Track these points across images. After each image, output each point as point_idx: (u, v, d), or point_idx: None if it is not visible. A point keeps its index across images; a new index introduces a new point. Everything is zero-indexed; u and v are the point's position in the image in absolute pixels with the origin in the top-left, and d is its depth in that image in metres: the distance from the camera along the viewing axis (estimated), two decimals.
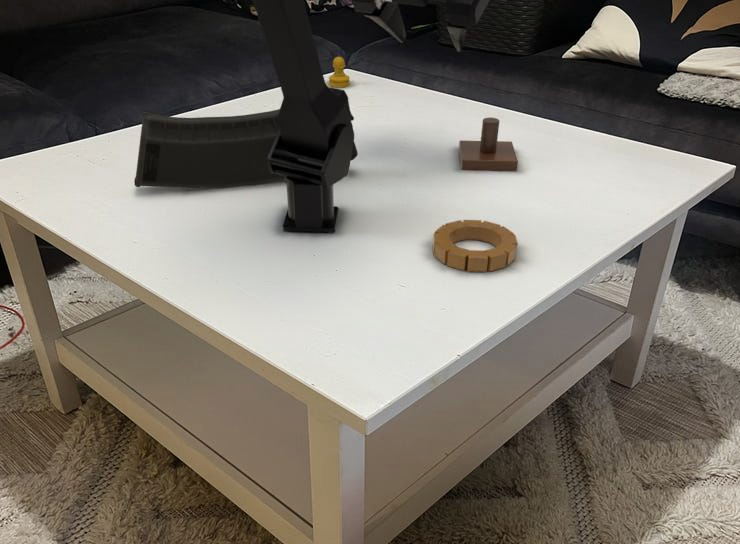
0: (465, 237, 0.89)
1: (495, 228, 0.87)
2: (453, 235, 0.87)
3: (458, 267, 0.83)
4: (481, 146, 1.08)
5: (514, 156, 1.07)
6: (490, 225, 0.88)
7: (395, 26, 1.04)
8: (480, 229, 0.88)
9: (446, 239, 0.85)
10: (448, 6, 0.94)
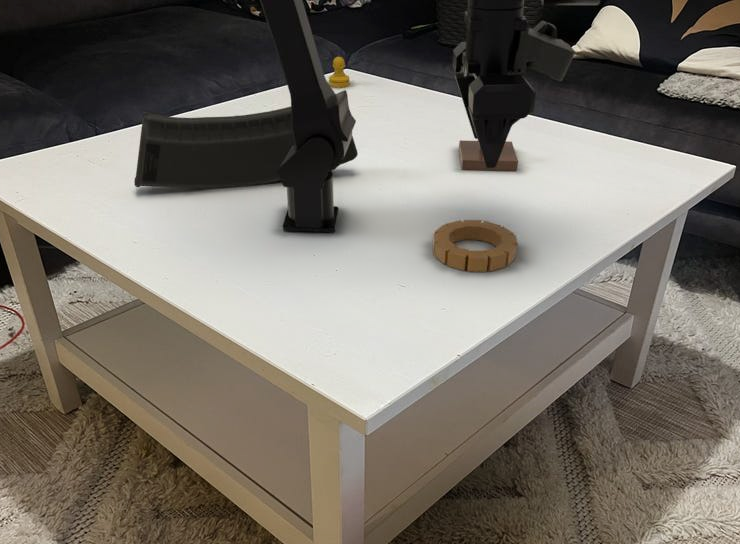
0: (465, 237, 0.89)
1: (495, 228, 0.87)
2: (453, 235, 0.87)
3: (458, 267, 0.83)
4: None
5: (514, 156, 1.07)
6: (490, 225, 0.88)
7: None
8: (480, 229, 0.88)
9: (446, 239, 0.85)
10: (475, 80, 0.74)
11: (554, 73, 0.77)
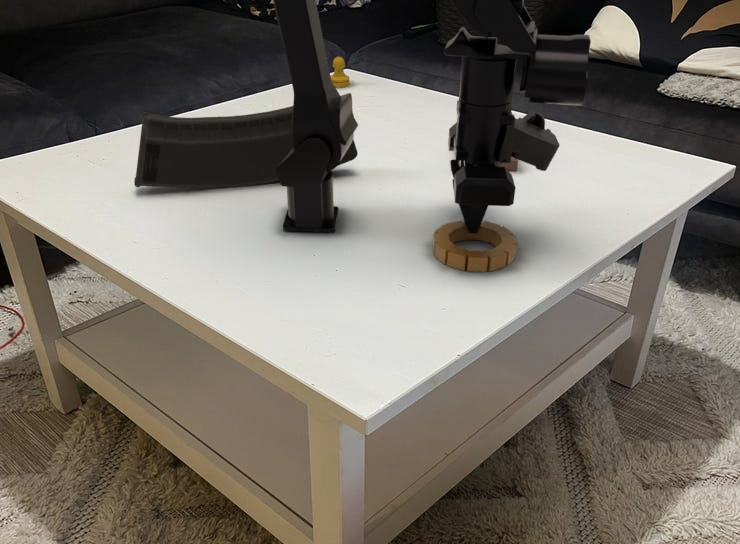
0: (465, 237, 0.89)
1: (495, 228, 0.87)
2: (453, 235, 0.87)
3: (458, 267, 0.83)
4: None
5: None
6: (490, 225, 0.88)
7: None
8: (480, 229, 0.88)
9: (446, 239, 0.85)
10: (460, 170, 0.79)
11: (538, 164, 0.81)
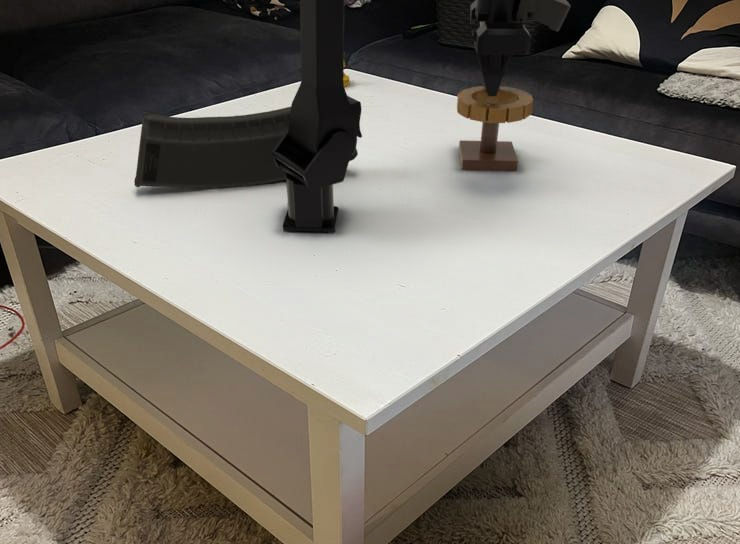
0: (486, 100, 0.98)
1: (513, 90, 0.97)
2: (475, 97, 0.97)
3: (480, 119, 0.93)
4: (481, 146, 1.08)
5: (514, 156, 1.07)
6: (508, 89, 0.98)
7: None
8: (499, 92, 0.98)
9: (469, 97, 0.95)
10: (481, 26, 0.88)
11: (551, 24, 0.91)
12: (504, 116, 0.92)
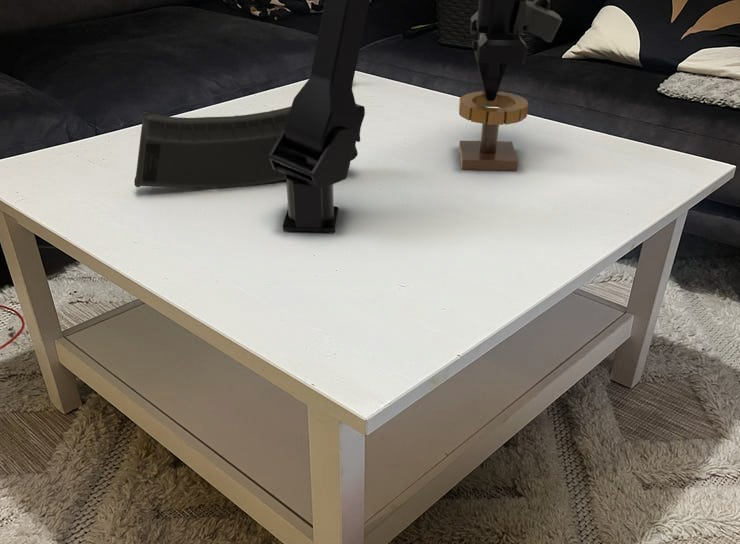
0: (485, 104, 1.08)
1: (510, 95, 1.06)
2: (475, 101, 1.06)
3: (480, 121, 1.02)
4: (481, 146, 1.08)
5: (514, 156, 1.07)
6: (505, 94, 1.07)
7: None
8: (497, 97, 1.07)
9: (470, 101, 1.04)
10: (482, 37, 0.98)
11: (545, 36, 1.00)
12: (502, 118, 1.01)
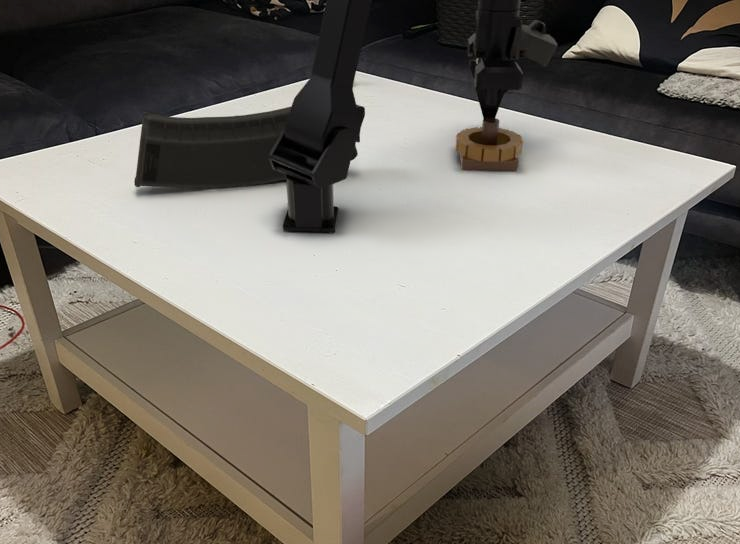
0: None
1: (505, 132, 1.10)
2: (471, 137, 1.10)
3: (476, 158, 1.05)
4: None
5: None
6: (501, 130, 1.10)
7: None
8: None
9: (466, 138, 1.08)
10: (479, 63, 1.00)
11: (540, 60, 1.03)
12: (497, 156, 1.05)
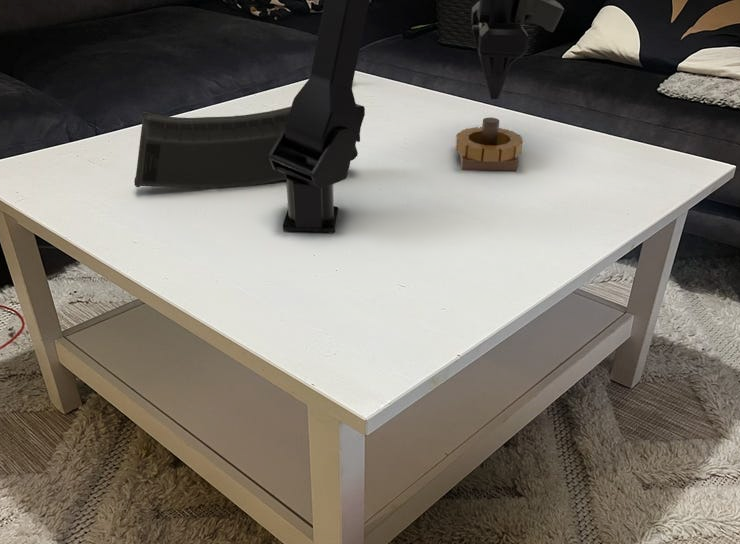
0: None
1: (505, 132, 1.10)
2: (471, 137, 1.10)
3: (476, 158, 1.05)
4: None
5: None
6: (501, 130, 1.10)
7: None
8: None
9: (466, 138, 1.08)
10: (483, 26, 0.97)
11: (547, 25, 1.00)
12: (497, 156, 1.05)
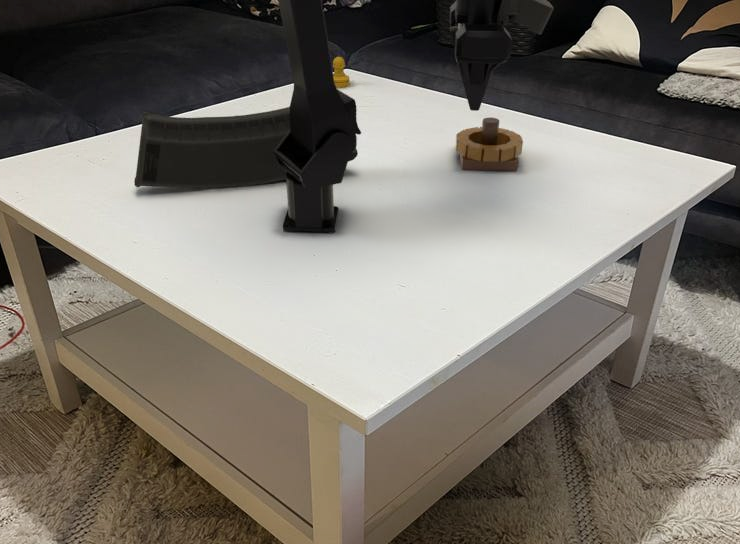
0: None
1: (505, 132, 1.10)
2: (471, 137, 1.10)
3: (476, 158, 1.05)
4: None
5: None
6: (501, 130, 1.10)
7: None
8: None
9: (466, 138, 1.08)
10: (460, 28, 0.84)
11: (534, 26, 0.87)
12: (497, 156, 1.05)
